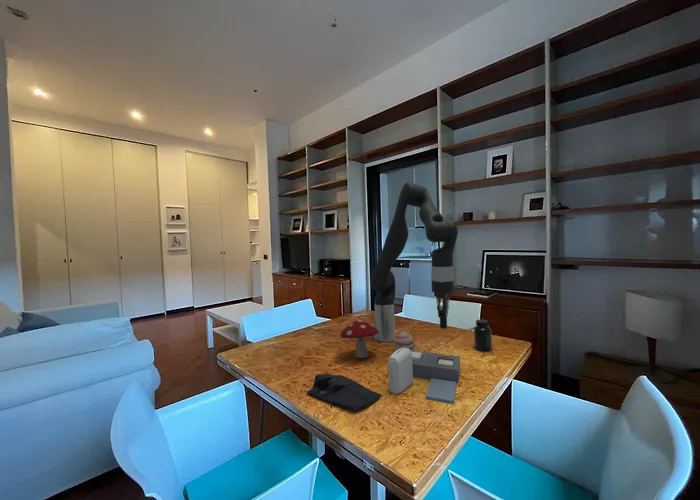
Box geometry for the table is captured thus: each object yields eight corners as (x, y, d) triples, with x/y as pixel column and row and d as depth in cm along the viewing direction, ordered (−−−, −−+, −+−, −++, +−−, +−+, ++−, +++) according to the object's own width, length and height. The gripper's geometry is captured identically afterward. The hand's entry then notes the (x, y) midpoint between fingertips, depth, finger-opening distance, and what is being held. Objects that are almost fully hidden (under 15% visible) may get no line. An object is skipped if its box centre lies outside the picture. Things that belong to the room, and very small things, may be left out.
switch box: (398, 374, 104) (397, 360, 104) (406, 361, 115) (405, 347, 115) (458, 383, 96) (457, 367, 96) (460, 368, 107) (459, 353, 107)
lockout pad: (425, 398, 88) (425, 396, 88) (431, 380, 99) (431, 378, 99) (453, 403, 85) (453, 401, 85) (456, 384, 96) (456, 381, 96)
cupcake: (410, 349, 127) (410, 326, 126) (419, 357, 118) (418, 333, 117) (390, 351, 125) (389, 328, 125) (397, 360, 116) (396, 335, 116)
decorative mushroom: (334, 360, 119) (332, 324, 118) (352, 346, 133) (350, 314, 132) (370, 367, 111) (368, 328, 110) (385, 351, 125) (383, 317, 125)
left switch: (405, 362, 106) (405, 356, 106) (408, 357, 111) (408, 351, 111) (419, 364, 104) (419, 358, 104) (422, 358, 109) (422, 352, 109)
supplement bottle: (488, 345, 127) (487, 318, 127) (494, 351, 120) (494, 323, 120) (472, 345, 128) (471, 318, 127) (477, 352, 121) (476, 323, 120)
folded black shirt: (352, 420, 80) (351, 403, 79) (303, 393, 95) (302, 379, 95) (386, 397, 91) (385, 382, 90) (337, 376, 106) (336, 363, 106)
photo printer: (399, 396, 90) (397, 356, 90) (387, 391, 93) (385, 353, 93) (414, 382, 98) (413, 346, 98) (403, 378, 101) (402, 343, 100)
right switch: (437, 371, 102) (437, 364, 102) (439, 365, 107) (438, 359, 107) (452, 373, 100) (452, 366, 100) (453, 367, 105) (453, 361, 105)
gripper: (434, 276, 109) (435, 321, 110) (428, 281, 97) (429, 332, 98) (455, 276, 106) (456, 323, 107) (452, 282, 94) (453, 335, 95)
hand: (443, 327), depth 103 cm, fingers closed
